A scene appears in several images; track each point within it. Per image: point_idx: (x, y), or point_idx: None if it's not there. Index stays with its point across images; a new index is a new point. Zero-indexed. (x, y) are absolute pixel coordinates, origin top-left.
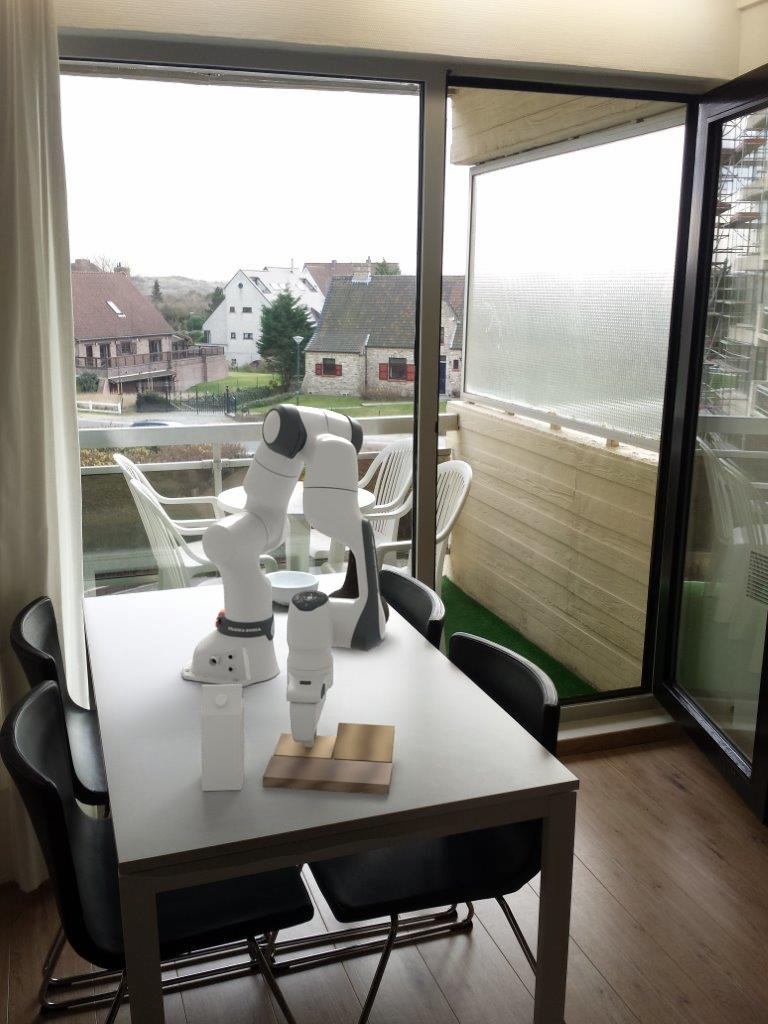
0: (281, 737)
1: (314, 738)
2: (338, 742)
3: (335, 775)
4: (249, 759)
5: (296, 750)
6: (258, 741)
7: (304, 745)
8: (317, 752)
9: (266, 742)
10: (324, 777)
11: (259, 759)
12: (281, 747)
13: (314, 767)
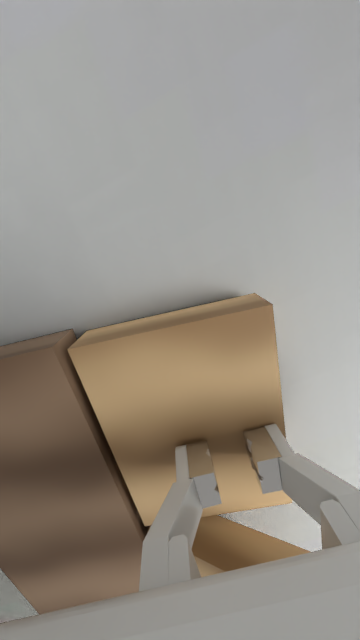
0: (229, 321)
1: (248, 457)
2: (208, 567)
3: (44, 571)
4: (71, 212)
5: (144, 421)
6: (252, 171)
7: (175, 449)
8: (161, 486)
9: (252, 216)
10: (12, 556)
11: (93, 258)
12: (139, 358)
13: (55, 513)
